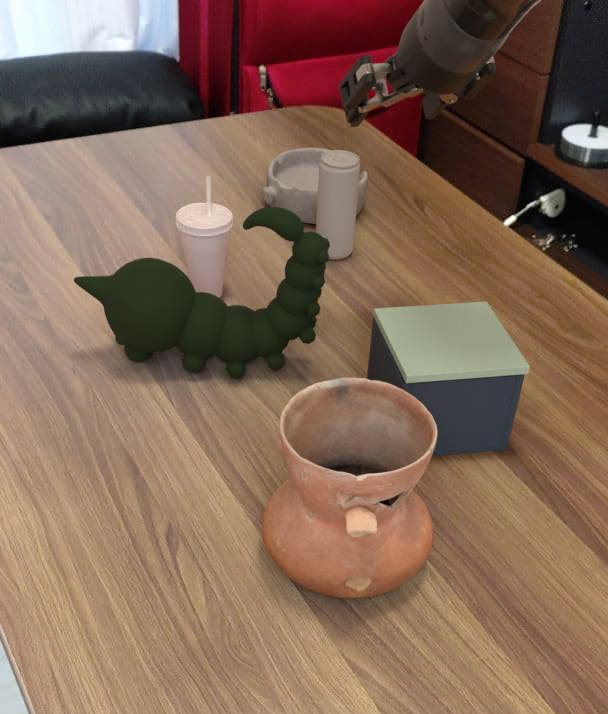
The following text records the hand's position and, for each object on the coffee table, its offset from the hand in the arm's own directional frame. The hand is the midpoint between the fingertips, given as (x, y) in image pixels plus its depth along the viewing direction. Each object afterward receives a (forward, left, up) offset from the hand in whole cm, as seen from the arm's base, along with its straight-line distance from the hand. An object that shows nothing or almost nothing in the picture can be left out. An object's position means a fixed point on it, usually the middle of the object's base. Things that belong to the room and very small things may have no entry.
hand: (389, 114), depth 100 cm
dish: (+2, -24, -22) cm, 33 cm away
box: (-1, +24, -21) cm, 32 cm away
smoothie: (+19, -3, -22) cm, 29 cm away
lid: (-1, +24, -12) cm, 27 cm away
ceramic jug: (+12, +41, -22) cm, 47 cm away
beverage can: (+2, -11, -22) cm, 24 cm away
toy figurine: (+21, +11, -22) cm, 32 cm away
